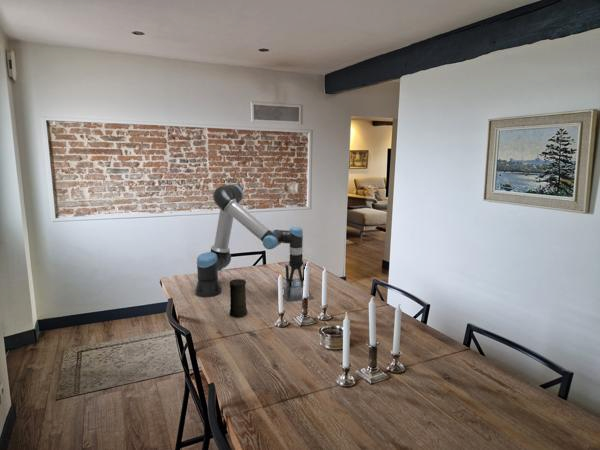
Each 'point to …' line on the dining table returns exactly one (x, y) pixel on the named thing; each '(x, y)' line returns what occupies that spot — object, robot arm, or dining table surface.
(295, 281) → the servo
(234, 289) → the container
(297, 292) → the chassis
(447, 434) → the dining table surface
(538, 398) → the dining table surface
